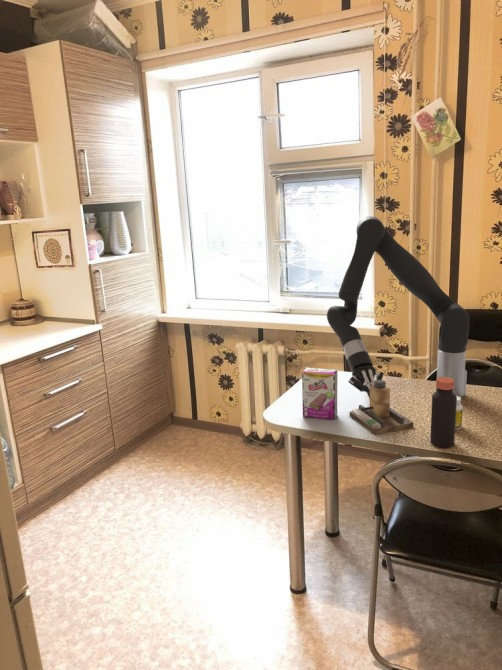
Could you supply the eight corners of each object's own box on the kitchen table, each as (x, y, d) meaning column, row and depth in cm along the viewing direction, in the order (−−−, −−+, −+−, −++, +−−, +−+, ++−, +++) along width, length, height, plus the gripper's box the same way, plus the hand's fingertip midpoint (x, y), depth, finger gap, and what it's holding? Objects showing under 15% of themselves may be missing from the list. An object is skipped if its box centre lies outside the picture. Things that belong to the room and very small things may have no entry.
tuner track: (385, 408, 191) (386, 399, 190) (413, 426, 176) (413, 416, 175) (349, 415, 187) (349, 406, 186) (374, 434, 172) (374, 424, 171)
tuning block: (382, 411, 184) (383, 378, 181) (389, 416, 181) (390, 382, 177) (359, 416, 182) (359, 383, 178) (365, 420, 178) (365, 387, 175)
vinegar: (457, 448, 161) (461, 383, 156) (434, 448, 161) (437, 384, 156) (449, 437, 168) (453, 375, 162) (427, 438, 168) (429, 376, 163)
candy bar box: (302, 417, 187) (301, 371, 183) (305, 411, 192) (304, 366, 187) (335, 420, 184) (334, 373, 179) (337, 414, 188) (337, 368, 184)
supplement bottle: (463, 430, 172) (464, 401, 169) (444, 430, 173) (446, 400, 170) (460, 423, 177) (461, 394, 174) (442, 422, 178) (443, 394, 175)
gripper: (343, 353, 186) (361, 399, 178) (378, 347, 190) (397, 393, 182) (336, 363, 192) (353, 409, 184) (370, 358, 196) (388, 402, 188)
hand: (375, 401), depth 183 cm, fingers closed
